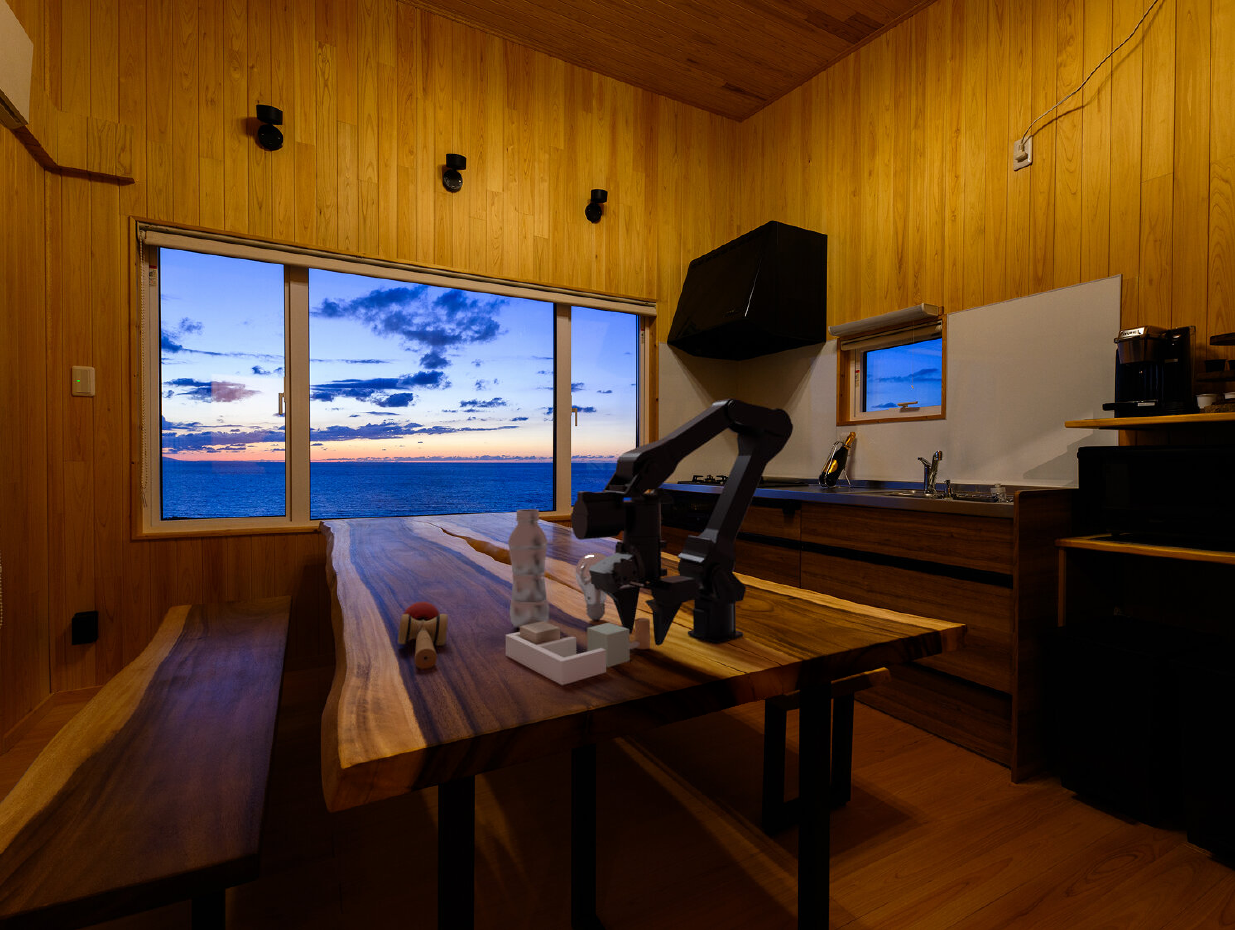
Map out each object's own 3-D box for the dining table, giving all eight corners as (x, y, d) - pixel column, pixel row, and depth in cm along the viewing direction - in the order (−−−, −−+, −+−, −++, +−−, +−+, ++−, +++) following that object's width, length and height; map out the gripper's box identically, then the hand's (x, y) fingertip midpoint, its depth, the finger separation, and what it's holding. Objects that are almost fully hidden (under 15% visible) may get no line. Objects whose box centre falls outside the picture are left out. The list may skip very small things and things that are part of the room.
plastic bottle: (542, 633, 97) (540, 511, 97) (503, 631, 98) (501, 511, 98) (554, 622, 103) (552, 508, 103) (517, 621, 105) (516, 508, 104)
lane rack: (546, 645, 91) (546, 625, 91) (606, 672, 79) (605, 649, 79) (505, 655, 86) (505, 634, 86) (561, 685, 75) (561, 661, 75)
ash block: (543, 651, 88) (543, 621, 88) (560, 658, 85) (559, 627, 85) (520, 657, 86) (519, 626, 86) (536, 665, 82) (535, 632, 82)
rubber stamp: (638, 645, 91) (637, 615, 91) (658, 651, 87) (658, 621, 87) (587, 659, 84) (587, 627, 84) (607, 667, 81) (607, 634, 81)
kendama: (460, 673, 83) (448, 623, 100) (452, 632, 82) (440, 588, 99) (403, 691, 81) (400, 636, 97) (393, 649, 80) (392, 601, 96)
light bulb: (592, 613, 109) (591, 548, 109) (623, 619, 105) (622, 551, 105) (567, 622, 104) (566, 553, 104) (599, 628, 100) (598, 557, 99)
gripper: (561, 533, 90) (563, 635, 91) (641, 546, 76) (643, 668, 76) (619, 527, 97) (620, 622, 97) (701, 538, 83) (703, 650, 83)
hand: (643, 639), depth 88 cm, fingers open, 7 cm apart
